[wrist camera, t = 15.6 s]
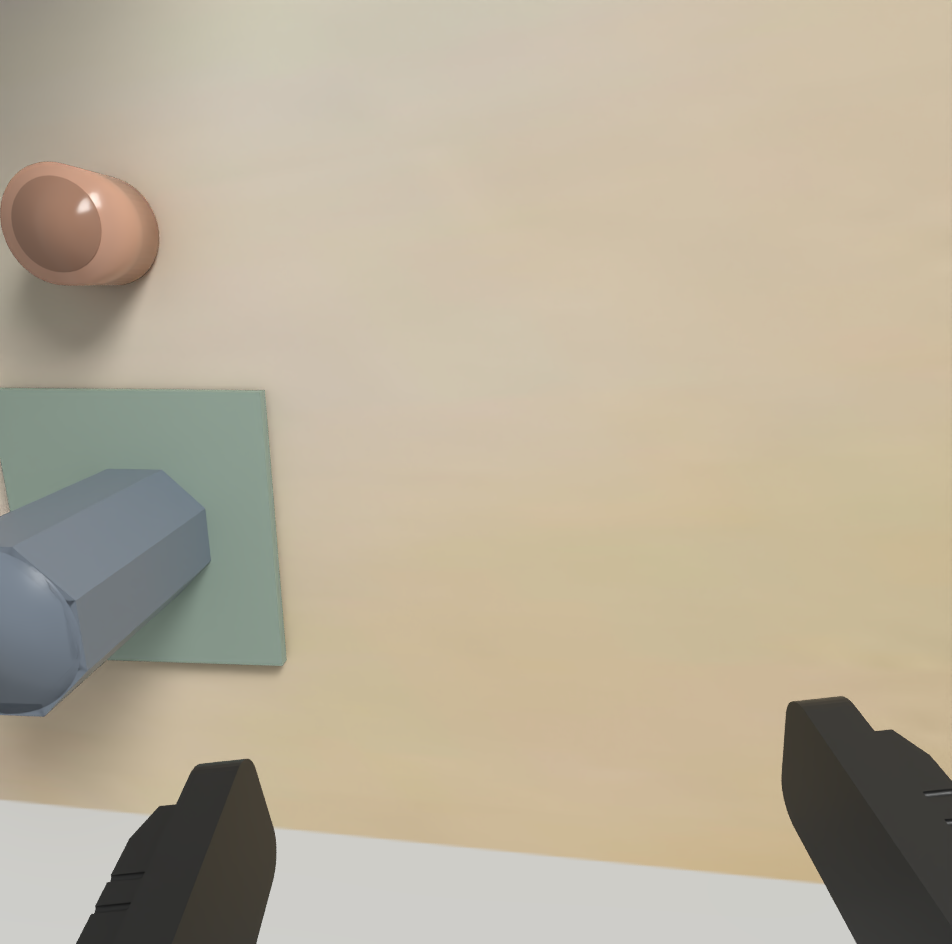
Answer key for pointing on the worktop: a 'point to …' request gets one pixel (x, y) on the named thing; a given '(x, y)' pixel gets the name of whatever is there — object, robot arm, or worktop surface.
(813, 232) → the worktop surface
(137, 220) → the cylinder
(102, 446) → the mat
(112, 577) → the grey octagonal prism
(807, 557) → the worktop surface
